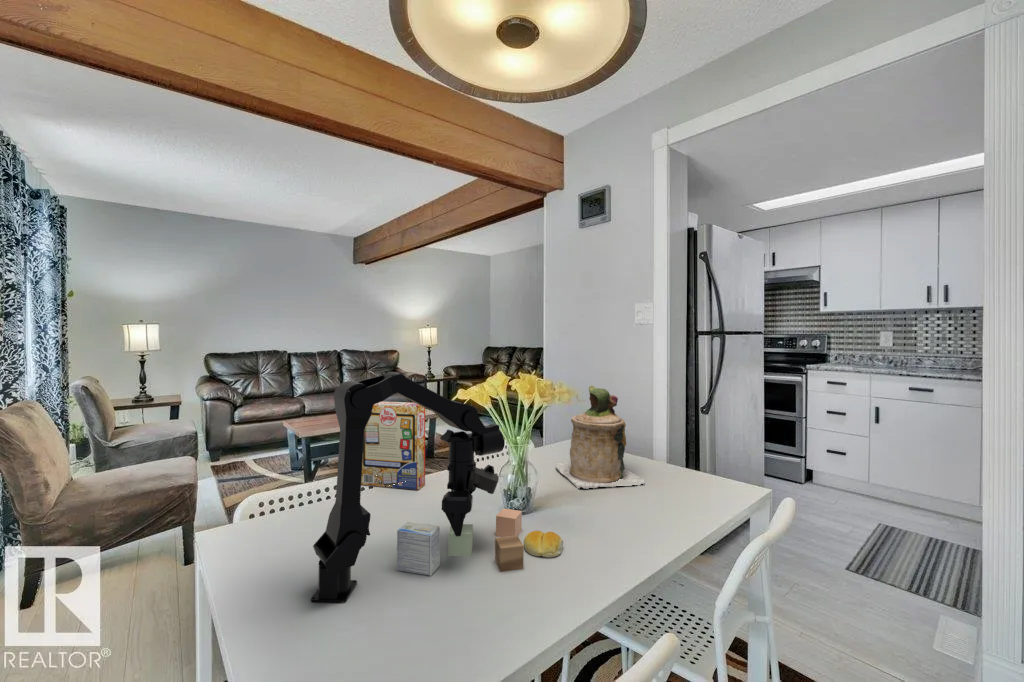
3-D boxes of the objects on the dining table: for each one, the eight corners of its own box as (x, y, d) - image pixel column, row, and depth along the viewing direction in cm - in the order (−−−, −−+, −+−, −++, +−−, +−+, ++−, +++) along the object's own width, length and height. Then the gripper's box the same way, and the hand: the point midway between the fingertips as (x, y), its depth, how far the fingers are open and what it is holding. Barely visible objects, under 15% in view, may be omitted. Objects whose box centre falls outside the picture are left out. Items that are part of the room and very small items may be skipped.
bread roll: (528, 539, 106) (528, 523, 106) (564, 545, 104) (565, 528, 104) (518, 555, 99) (519, 537, 98) (558, 561, 96) (558, 543, 96)
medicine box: (440, 566, 93) (440, 525, 93) (430, 577, 89) (431, 534, 89) (406, 560, 95) (407, 521, 95) (396, 571, 91) (396, 529, 91)
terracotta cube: (515, 539, 106) (515, 518, 106) (495, 536, 108) (496, 515, 108) (521, 530, 111) (521, 511, 111) (503, 527, 112) (503, 508, 112)
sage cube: (470, 556, 98) (470, 533, 98) (448, 556, 98) (448, 533, 98) (472, 545, 103) (472, 524, 103) (451, 545, 103) (451, 524, 103)
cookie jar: (578, 491, 139) (579, 391, 139) (552, 468, 163) (553, 383, 163) (647, 486, 146) (649, 389, 145) (612, 464, 169) (614, 382, 169)
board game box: (425, 484, 144) (426, 402, 144) (417, 491, 138) (418, 405, 137) (369, 479, 148) (369, 399, 148) (358, 485, 142) (359, 402, 142)
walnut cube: (523, 569, 93) (523, 545, 93) (500, 572, 91) (500, 548, 91) (516, 557, 97) (517, 535, 97) (494, 560, 96) (495, 537, 96)
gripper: (495, 471, 91) (494, 546, 91) (497, 448, 109) (497, 511, 110) (441, 471, 91) (440, 546, 91) (453, 448, 109) (452, 510, 109)
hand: (460, 526), depth 100 cm, fingers open, 9 cm apart
